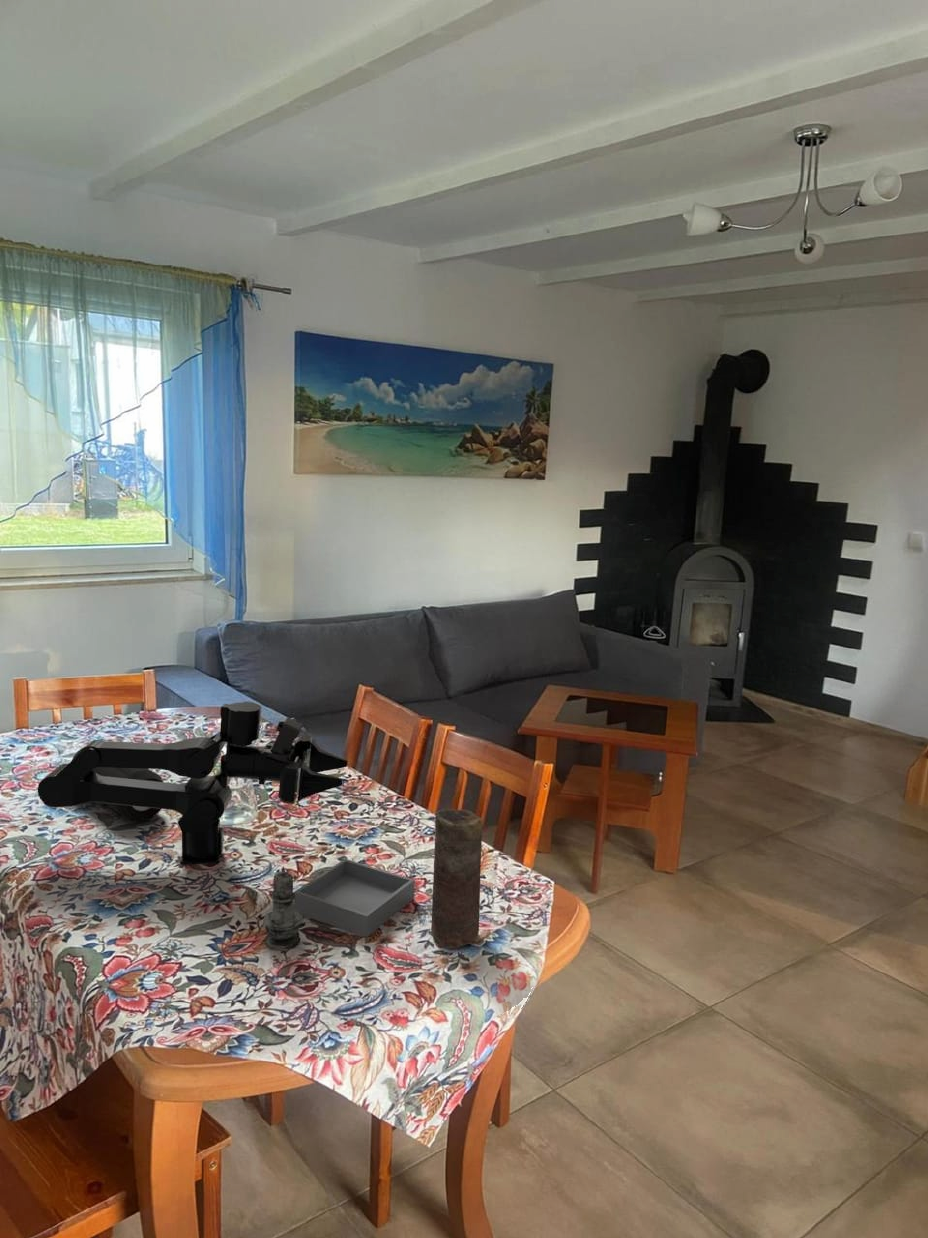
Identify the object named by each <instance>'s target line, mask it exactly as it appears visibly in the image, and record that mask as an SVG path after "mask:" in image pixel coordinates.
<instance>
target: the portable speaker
mask: <svg viewBox="0 0 928 1238" xmlns="http://www.w3.org/2000/svg"><path fill="white" fill-rule="evenodd" d="M86 746H87V745H86ZM86 746H84V747H86ZM84 747H83V746H82V747H81V748H80V749H79V750H77V752H76V753H75V754H74V755H73V756H72V759H71V761H72V760H73V759H74V758H76V757H77V756H78V755H79V754H80V752H81V750H82V749H83V748H84ZM92 771H93V772H95V773H97V774H98V775H101V776H107V777H117V778H126V779H136V780H146V781H156V782H164V780H163V778H162V777H161V775H160V774H158V773H157V772H155V771H153V770H152V769H142V768H113V767H96V768H94V769H93V770H92ZM104 804H105V805H106V806H108V807H109V808H111V809H112V810H114V811H115V812H117V813H119V814H120V815H121V816H123V817H125V818H126V819H128V820H131V821H139V820H141V821H142V820H147V819H151V818H153V817H154V816H156V815H158V813H160V812H161V810H162V809H158V808H148V807H138V806H128V805H119V804H109V803H104Z"/></svg>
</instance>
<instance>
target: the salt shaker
mask: <svg viewBox="0 0 928 1238" xmlns="http://www.w3.org/2000/svg"><path fill="white" fill-rule="evenodd" d="M280 870H281V871H278V872H277V873H275V874H274V876H273V879H272V880H273V888H272V889H273V892H272V893H271V894H270V899H271V900H272V910H271V911H270V912H268V913H267V914H266V915H265V916H264V917H263V919H262V924H263V926H264V928H265V930H266V932H267V933H266V934H267V935H268V936H267V937H266V938H265V939H264V945H265V947H266V948H268V949H270V950H271V951H275V952H276V951H277V952H283V951H284V952H285V951H289V950H292V949H295V948H296V947H298V946H299V945H300V944H301V937H300V935H299V934H298V932H299V930H300V927H301V926H302V925H301V924H302V923H303V920H304V916H303V915H301V914H300V913H299V912H296V911H294V898H295V893H294V892H295V891H294V876H293V874H292V873H291V872H289V871H286V870H287V869H286V868H285V866H282V867H281V869H280Z"/></svg>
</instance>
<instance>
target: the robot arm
mask: <svg viewBox="0 0 928 1238" xmlns="http://www.w3.org/2000/svg"><path fill="white" fill-rule="evenodd" d="M261 716H262V706H261V705H260V704H259V703H255V702H251V701H243V702H234V703H230V704H229V703H223V704H222V706H221V707H220V729H219V730H220V731H219V732H217V733H215V734H214V735H212V736H210V737H209V736H200V737H192V738H186V739H181V740H178V741H175V742H168V743H165V742H163V743H162V742H136V741H135V742H134V741H109V740H108V741H106V740H103V739H93V740H92V741H90V742H89V743H88V744H87V745H86V747H85V746H84V748H83V747H82V748H83V749H82V750H81V752H80V754H79V755H78V756H77V757H76V758H74V759H73V758H72V759H73V760H72V759H71V761H70V762H68V763H67V762H66V763H63V764H60V765H58V766H57V767H56V768H55V769H53V770H52V771H51V772H50V773H49V774H47V775H46V776H45V777H43V779H42V780H40V782H39V784H38V786H37V795H38V797H39V799H40V801H42V803H43V804H44V805H45V806H46V807H49V808H52V809H53V808H54V809H55V808H57V809H58V808H69V807H77V806H81V805H84V804H89V803H101V804H105V803H109V804H119V805H128V806H138V807H148V808H158V809H161V810H170V811H175V812H176V813H178V814H180V815H181V817H180V818H179V819H178V821H177V824H178V826H179V829H180V832H181V857H180V859H179V863H180V864H197V863H198V864H201V863H202V864H204V863H205V864H210V863H211V864H212V863H213V864H214V863H218V862H219V859H220V856H221V855H222V854H223V851H224V828H223V827H221V817H222V816H223V814H224V813H225V811H226V810H227V808H228V806H229V804H230V803H231V802H232V798H233V793H232V789H231V787H230V785H229V784H230V783H231V780H232V778H237V779H243V780H244V779H245V780H255V781H258V785H265V784H266V783H267V782H274V783H279V786H278V796H277V797H278V798H279V799H280V801H281V802H282V803H283V804H291V805H295V803H296V801H299V802H300V801H302V800H303V799H306V798H308V797H312V796H314V795H317V794H319V793H323V792H326V791H328V790H329V791H330V790H332V789H334V788H338V787H340V786H342V785H343V778H342V777H337V776H334V775H330V774H325V773H324V772H328V771H333V770H338V769H342V768H347V767H348V763H349V762H348V760H347V759H345V758H343V757H340V756H338V755H335V754H332V753H329V752H327V751H325V750H323V749H321V748H320V747H319V745H318V744H317V740H316V739H314V738H313V736H312V735H306V734H305V735H304V734H302V735H300V736H299V734H300V732H302V731H301V730H302V728H303V726H304V724H303V723H300V722H298V721H297V718H296V717H290V716H287V717H286V718H281V719H280V720H279V721H278V724H277V726H276V727H275V728H276V731H277V732H278V734H277V736H276V739H275V741H274V742H268V743H267V744H264V747H263V746H262V747H261V746H251V745H253V742H254V741H256V740H259V738H260V727H261V718H262V717H261ZM225 746H226V753H225V754H223V755H222V750H223V748H224V747H225ZM219 761H220V766H219V767H220V768H219V771H218V772H216V774H213V775H210V774H211V773H212V772H213V770H214V769H215V768H216V766H217V764H218V763H219ZM96 767H113V768H142V769H149V770H163V771H169V772H171V773H173V774H175V775H177V776H180V777H185V778H189V779H188V781H187V782H184V783H173V782H164V781H163V782H156V781H146V780H136V779H126V778H117V777H107V776H101V775H98V774H97V773H95V772H93V771H92V770H93V769H94V768H96ZM322 772H323V773H322ZM209 775H210V776H209Z"/></svg>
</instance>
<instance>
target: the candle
mask: <svg viewBox="0 0 928 1238" xmlns="http://www.w3.org/2000/svg"><path fill="white" fill-rule="evenodd" d="M434 825H435V826H434V853H433V855H434V856H433V875H432V877H433V879H432V880H433V882H432V902H431V925H430V926H431V928H430V929H431V931H430V933H431V936H432V939H433V941H434V942H433V943H435V945H437V946H439V947H441V948H450V949H458V948H460V947H462V946H466V945H469V944H473V943H474V942H475V941H476V940H477V938H478V936H479V932H480V931H479V930H480V913H481V912H480V909H481V908H480V905H481V904H480V903H481V901H480V900H481V899H480V898H481V870H482V869H481V867H482V840H483V819H482V818H481V817H480V816H477V815H476V814H475V813H474V812H472V811H470V810H468V809H458V808H456V809H455V808H442V809H439V810H438V811H437V812H436V813H435V823H434Z"/></svg>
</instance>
